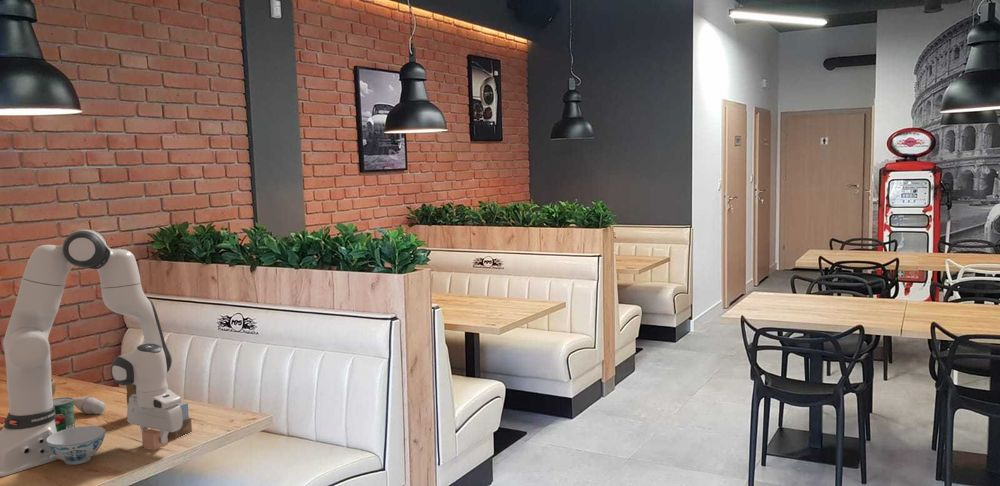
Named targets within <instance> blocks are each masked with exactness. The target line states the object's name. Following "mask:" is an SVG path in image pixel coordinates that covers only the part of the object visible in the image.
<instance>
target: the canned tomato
mask: <svg viewBox="0 0 1000 486" xmlns="http://www.w3.org/2000/svg"><path fill="white" fill-rule="evenodd" d="M53 405H54V406H55V412H56V421H55V425H56V430H57V432H59V431H62V430H65V429H69V428H74V427H76V421H75V406H74V404H73V398H72V397H65V396H64V397H63V396H62V397H57V398H53Z"/></svg>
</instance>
